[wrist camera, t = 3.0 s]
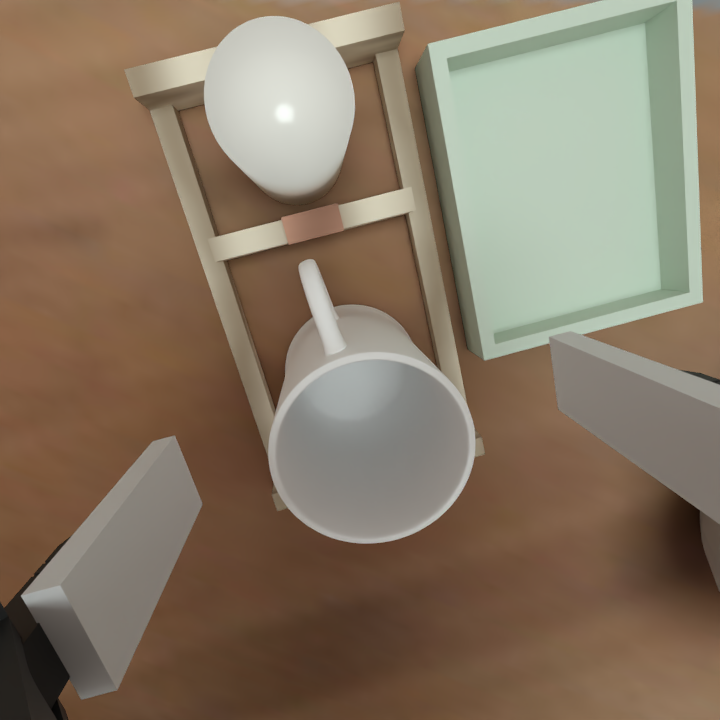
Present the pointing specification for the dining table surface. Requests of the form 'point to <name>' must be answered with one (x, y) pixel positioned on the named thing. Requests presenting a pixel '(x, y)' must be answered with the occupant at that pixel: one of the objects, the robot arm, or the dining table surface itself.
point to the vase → (711, 544)
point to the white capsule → (281, 107)
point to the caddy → (357, 47)
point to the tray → (567, 170)
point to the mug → (365, 425)
